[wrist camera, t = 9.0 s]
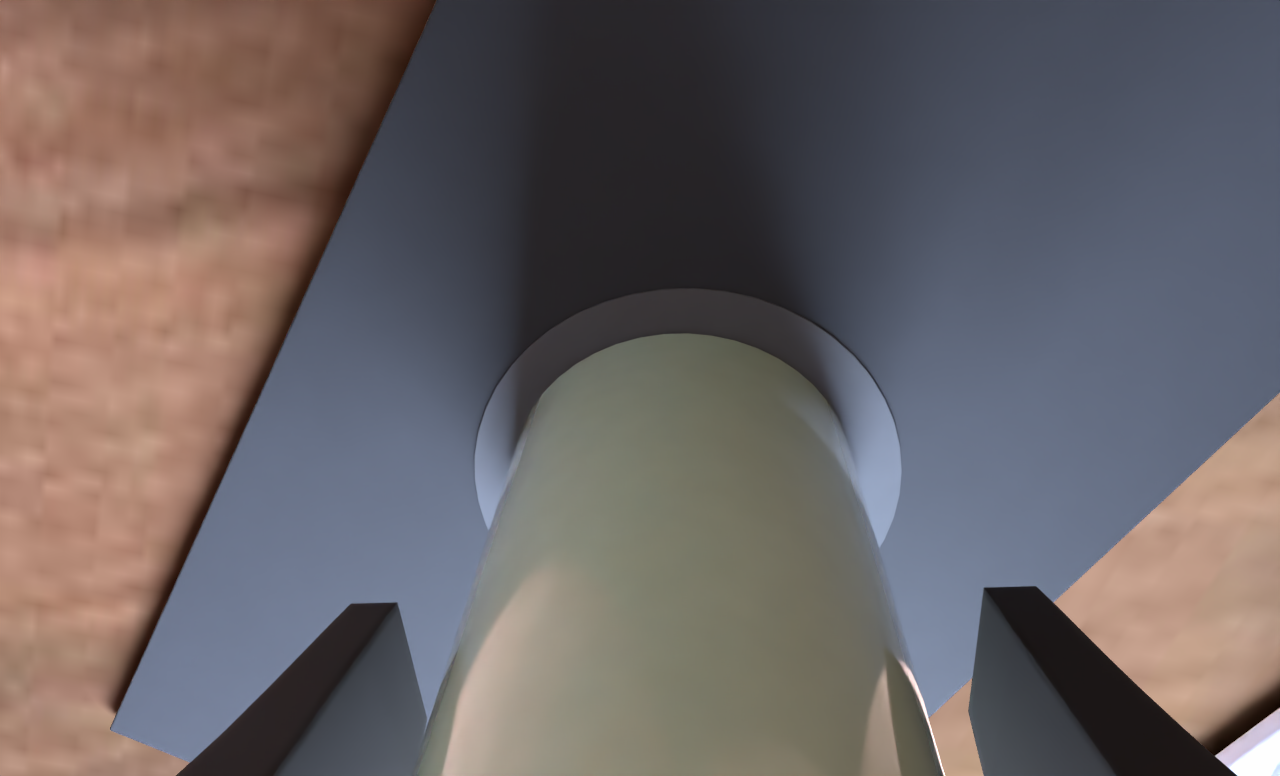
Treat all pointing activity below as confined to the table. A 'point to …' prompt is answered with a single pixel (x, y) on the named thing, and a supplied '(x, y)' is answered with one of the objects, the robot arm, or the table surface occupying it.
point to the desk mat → (761, 296)
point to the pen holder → (680, 586)
